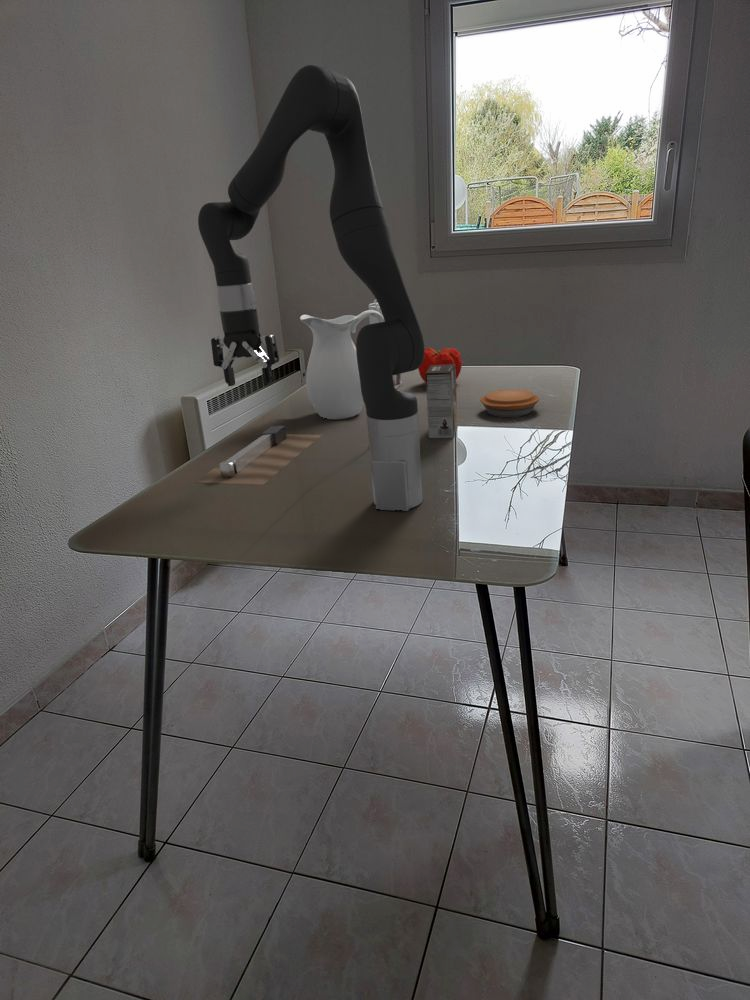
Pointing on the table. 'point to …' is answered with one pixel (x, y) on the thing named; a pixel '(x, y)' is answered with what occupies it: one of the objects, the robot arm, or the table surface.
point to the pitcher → (335, 366)
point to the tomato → (440, 360)
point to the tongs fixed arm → (227, 466)
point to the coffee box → (441, 401)
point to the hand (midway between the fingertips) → (249, 385)
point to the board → (264, 462)
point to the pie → (509, 402)
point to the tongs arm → (259, 448)
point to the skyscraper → (374, 320)
